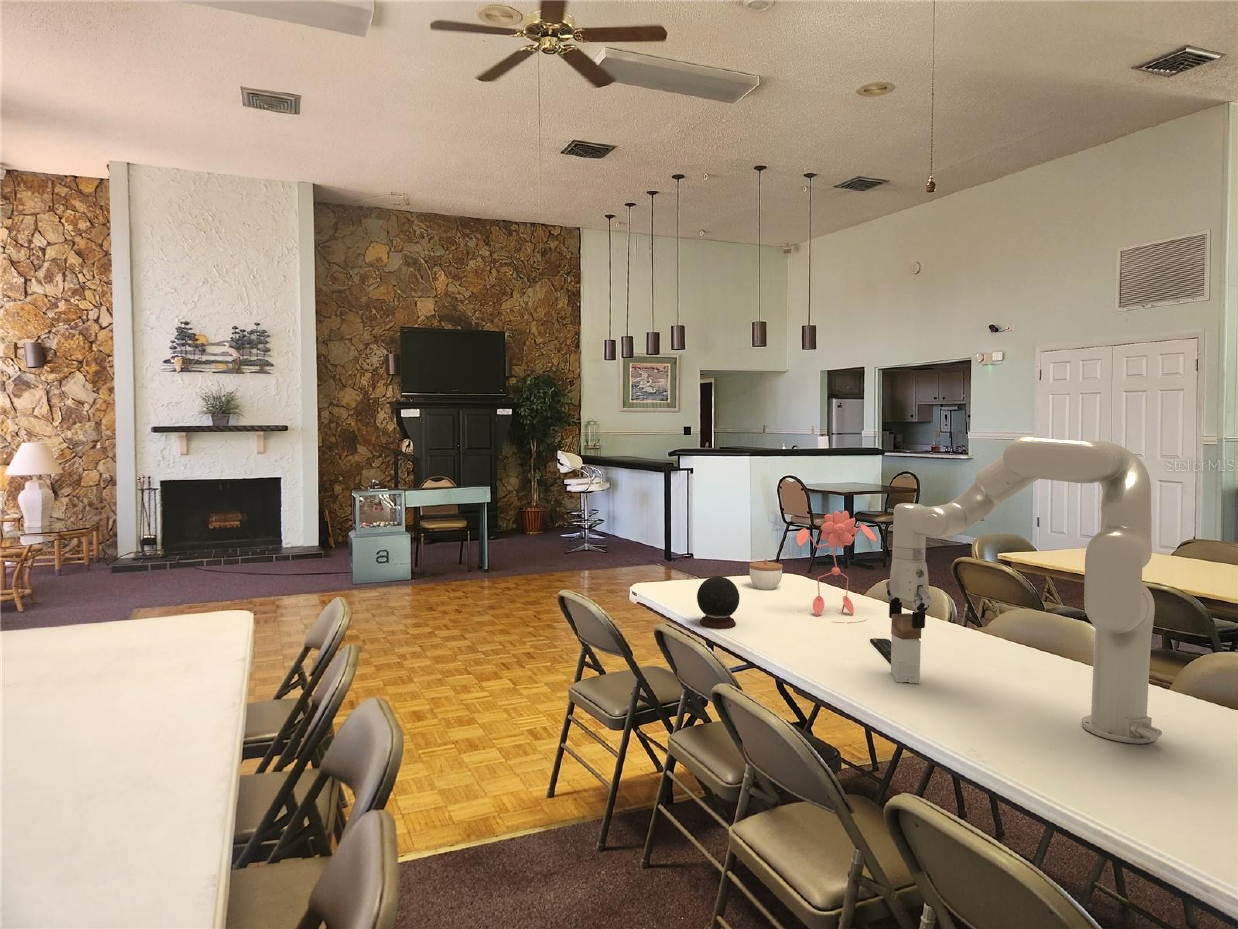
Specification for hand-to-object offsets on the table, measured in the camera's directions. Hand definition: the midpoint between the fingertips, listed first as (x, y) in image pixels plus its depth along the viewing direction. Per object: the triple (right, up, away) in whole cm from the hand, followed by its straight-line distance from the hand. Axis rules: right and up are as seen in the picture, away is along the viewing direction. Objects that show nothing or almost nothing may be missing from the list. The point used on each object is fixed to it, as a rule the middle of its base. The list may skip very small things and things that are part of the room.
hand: (906, 622), depth 186 cm
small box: (0, -14, +1) cm, 14 cm away
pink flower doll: (0, -11, +60) cm, 61 cm away
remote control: (+4, -14, +21) cm, 25 cm away
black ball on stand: (-40, -11, +49) cm, 65 cm away
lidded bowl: (-15, -9, +104) cm, 105 cm away
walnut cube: (0, -3, 0) cm, 3 cm away
